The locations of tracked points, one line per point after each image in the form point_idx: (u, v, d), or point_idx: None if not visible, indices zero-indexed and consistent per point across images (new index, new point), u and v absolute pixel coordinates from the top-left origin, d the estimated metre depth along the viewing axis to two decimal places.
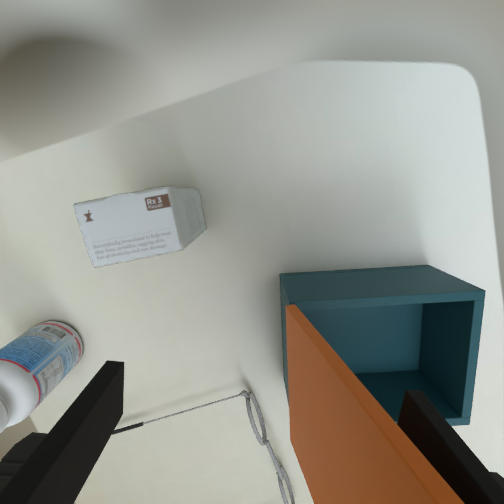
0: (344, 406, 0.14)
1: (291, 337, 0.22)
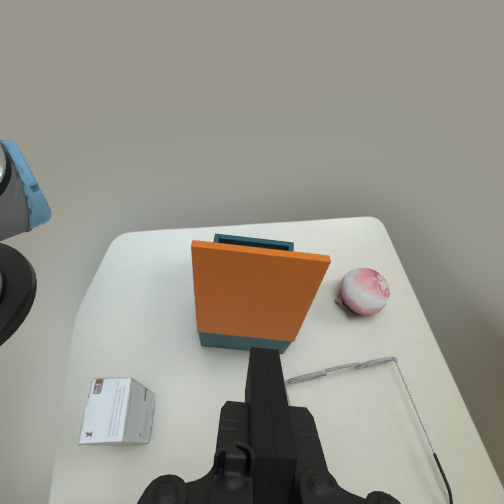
0: (206, 289, 0.31)
1: (212, 328, 0.38)
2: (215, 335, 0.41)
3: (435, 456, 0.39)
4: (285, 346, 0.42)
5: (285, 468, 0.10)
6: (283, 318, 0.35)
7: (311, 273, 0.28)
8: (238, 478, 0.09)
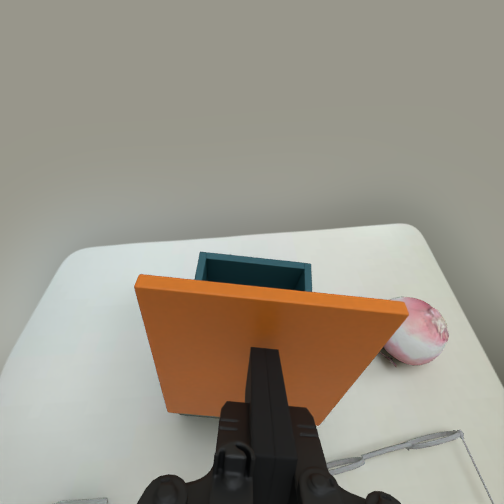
0: (173, 358, 0.18)
1: (191, 408, 0.24)
2: None
3: None
4: None
5: (285, 468, 0.10)
6: (306, 398, 0.21)
7: (367, 334, 0.15)
8: (238, 478, 0.09)
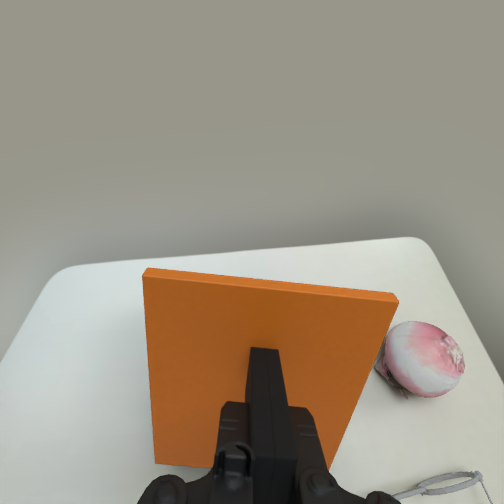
0: (170, 372, 0.17)
1: (182, 455, 0.21)
2: None
3: None
4: None
5: (285, 468, 0.10)
6: None
7: (363, 329, 0.16)
8: (238, 478, 0.09)
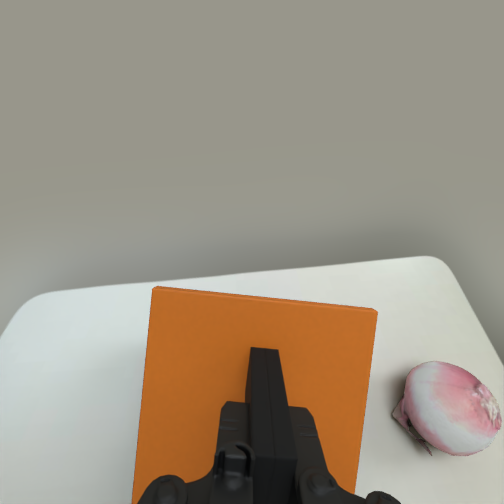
0: (163, 406, 0.17)
1: None
2: None
3: None
4: None
5: (285, 468, 0.10)
6: None
7: (351, 342, 0.17)
8: (238, 478, 0.09)
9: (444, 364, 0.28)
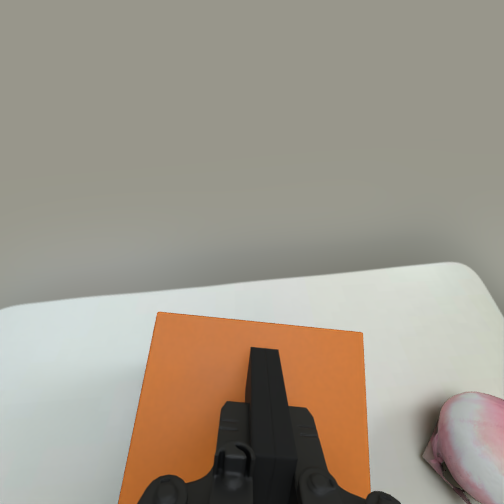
0: (156, 439, 0.16)
1: None
2: None
3: None
4: None
5: (285, 468, 0.10)
6: None
7: (343, 363, 0.18)
8: (238, 478, 0.09)
9: (488, 397, 0.23)
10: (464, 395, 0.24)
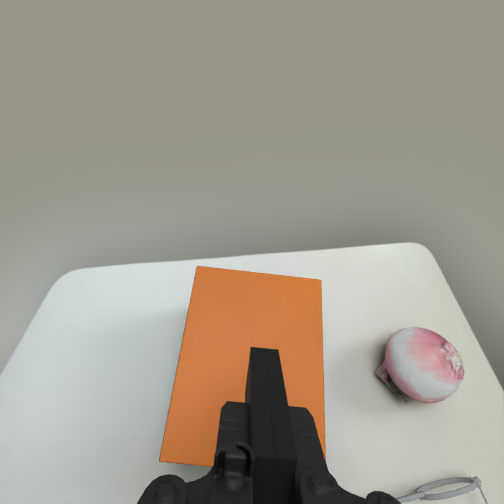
0: (198, 332, 0.27)
1: (189, 441, 0.23)
2: None
3: None
4: None
5: (285, 468, 0.10)
6: (296, 392, 0.25)
7: (308, 296, 0.29)
8: (238, 478, 0.09)
9: (419, 328, 0.33)
10: (404, 328, 0.34)
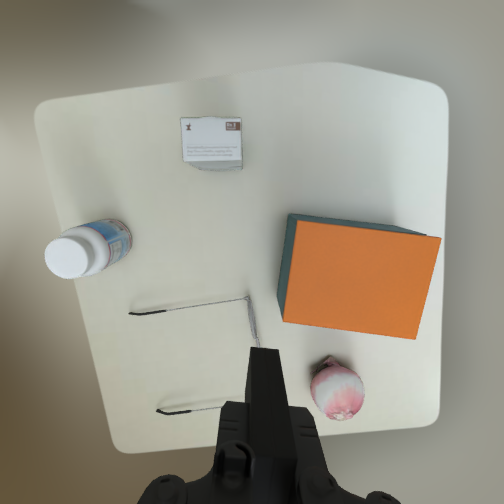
0: (381, 242, 0.34)
1: (307, 239, 0.35)
2: (292, 236, 0.37)
3: (189, 411, 0.48)
4: (279, 305, 0.41)
5: (285, 468, 0.10)
6: (331, 310, 0.36)
7: (402, 328, 0.36)
8: (238, 478, 0.09)
9: (363, 398, 0.43)
10: (363, 387, 0.44)
